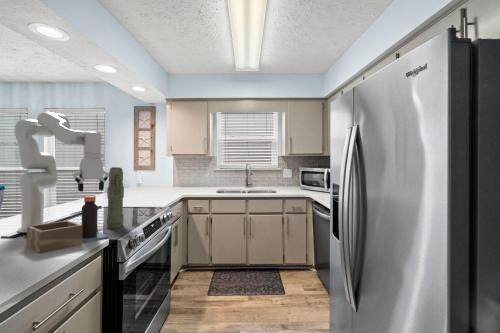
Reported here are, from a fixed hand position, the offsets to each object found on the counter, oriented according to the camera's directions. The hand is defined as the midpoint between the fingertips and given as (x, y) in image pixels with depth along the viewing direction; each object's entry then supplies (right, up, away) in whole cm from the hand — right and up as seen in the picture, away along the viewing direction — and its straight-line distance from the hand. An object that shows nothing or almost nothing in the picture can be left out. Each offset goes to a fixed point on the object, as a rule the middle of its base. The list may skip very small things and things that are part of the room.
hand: (91, 190), depth 139 cm
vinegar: (0, -23, -1) cm, 23 cm away
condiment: (-9, -24, +16) cm, 30 cm away
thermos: (0, -24, +25) cm, 34 cm away
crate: (-9, -24, -13) cm, 28 cm away
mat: (0, -24, 0) cm, 24 cm away
